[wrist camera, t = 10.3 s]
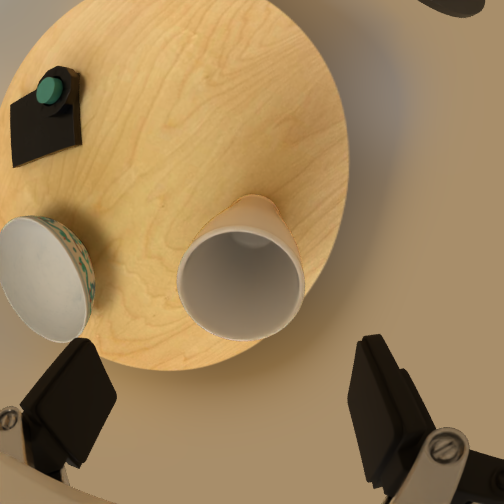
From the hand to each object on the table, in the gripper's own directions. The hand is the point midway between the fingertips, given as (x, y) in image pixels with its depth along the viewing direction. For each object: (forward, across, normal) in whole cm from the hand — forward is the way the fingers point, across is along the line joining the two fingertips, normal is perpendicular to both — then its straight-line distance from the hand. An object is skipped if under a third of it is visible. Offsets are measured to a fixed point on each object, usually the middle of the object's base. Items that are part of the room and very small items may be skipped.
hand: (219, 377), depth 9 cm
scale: (+21, +24, -16) cm, 35 cm away
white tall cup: (+21, 0, 0) cm, 21 cm away
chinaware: (+21, +23, +2) cm, 32 cm away
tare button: (+18, +20, -18) cm, 33 cm away
